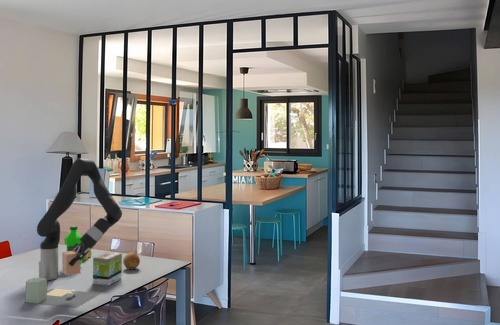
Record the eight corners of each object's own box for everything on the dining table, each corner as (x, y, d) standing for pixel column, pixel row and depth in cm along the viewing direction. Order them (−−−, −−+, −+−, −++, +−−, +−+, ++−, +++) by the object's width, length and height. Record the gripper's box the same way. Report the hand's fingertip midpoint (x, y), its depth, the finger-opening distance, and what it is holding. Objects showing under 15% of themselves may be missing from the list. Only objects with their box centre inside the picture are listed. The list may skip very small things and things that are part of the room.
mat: (23, 303, 234) (23, 302, 234) (52, 289, 255) (52, 288, 255) (76, 309, 228) (76, 307, 228) (101, 294, 249) (101, 293, 249)
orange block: (66, 275, 238) (66, 254, 237) (62, 272, 243) (62, 252, 242) (80, 273, 242) (80, 253, 241) (75, 270, 247) (75, 250, 246)
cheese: (91, 256, 327) (91, 241, 326) (86, 260, 316) (86, 245, 316) (75, 256, 327) (75, 241, 326) (70, 260, 316) (70, 245, 315)
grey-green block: (25, 302, 234) (25, 281, 234) (34, 297, 241) (34, 277, 240) (38, 303, 233) (38, 282, 232) (46, 298, 239) (46, 278, 239)
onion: (119, 270, 294) (119, 253, 294) (128, 266, 304) (128, 250, 303) (134, 271, 291) (134, 255, 291) (142, 267, 301) (142, 251, 300)
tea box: (109, 286, 263) (109, 258, 262) (92, 284, 265) (92, 257, 264) (122, 278, 278) (122, 252, 277) (105, 277, 280) (105, 251, 279)
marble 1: (65, 298, 240) (65, 292, 240) (68, 296, 243) (68, 290, 243) (70, 299, 239) (70, 293, 239) (74, 297, 242) (74, 291, 242)
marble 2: (68, 296, 243) (68, 290, 243) (72, 294, 246) (72, 288, 246) (74, 297, 243) (74, 291, 243) (77, 295, 246) (77, 289, 245)
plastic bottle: (86, 266, 301) (86, 226, 300) (71, 270, 292) (71, 228, 291) (75, 264, 306) (75, 224, 305) (61, 267, 297) (60, 226, 296)
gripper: (81, 230, 251) (57, 255, 245) (91, 234, 240) (66, 262, 233) (91, 239, 255) (68, 264, 248) (102, 244, 243) (78, 271, 237)
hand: (68, 263), depth 241 cm, fingers closed on orange block, 6 cm apart
